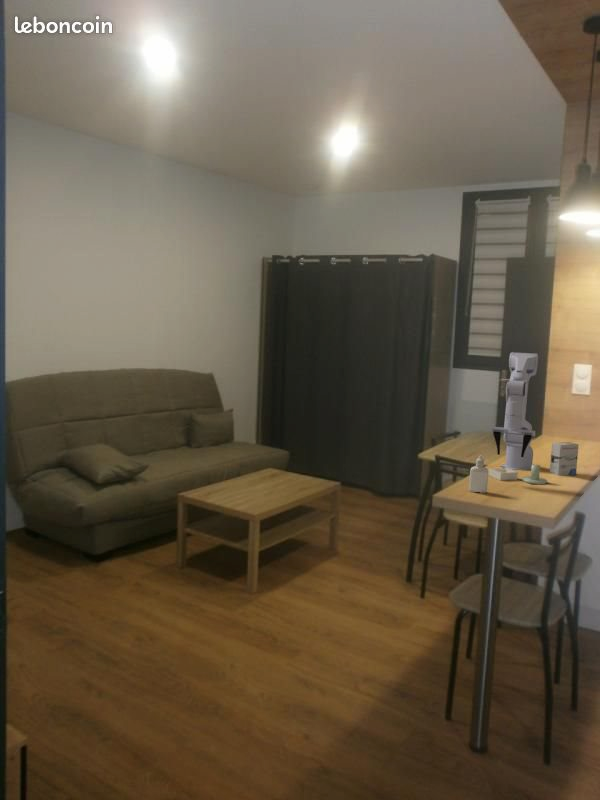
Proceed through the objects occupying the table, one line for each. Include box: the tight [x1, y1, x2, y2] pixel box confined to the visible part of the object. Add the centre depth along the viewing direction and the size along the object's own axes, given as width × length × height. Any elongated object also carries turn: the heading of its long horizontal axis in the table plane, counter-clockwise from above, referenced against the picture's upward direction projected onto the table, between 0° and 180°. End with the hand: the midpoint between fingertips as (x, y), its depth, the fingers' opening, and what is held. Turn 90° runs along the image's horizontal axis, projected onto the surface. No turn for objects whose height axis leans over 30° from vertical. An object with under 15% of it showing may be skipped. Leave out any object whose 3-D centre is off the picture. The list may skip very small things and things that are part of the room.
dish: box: [488, 467, 519, 481], centre depth 234 cm, size 7×7×3 cm
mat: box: [517, 478, 552, 486], centre depth 230 cm, size 8×8×1 cm
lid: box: [521, 463, 548, 485], centre depth 230 cm, size 8×8×6 cm
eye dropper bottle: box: [468, 454, 489, 494], centre depth 214 cm, size 4×6×12 cm
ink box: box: [549, 441, 580, 476], centre depth 244 cm, size 8×5×12 cm, turn 111°
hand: (510, 455), depth 224 cm, fingers open, 7 cm apart
